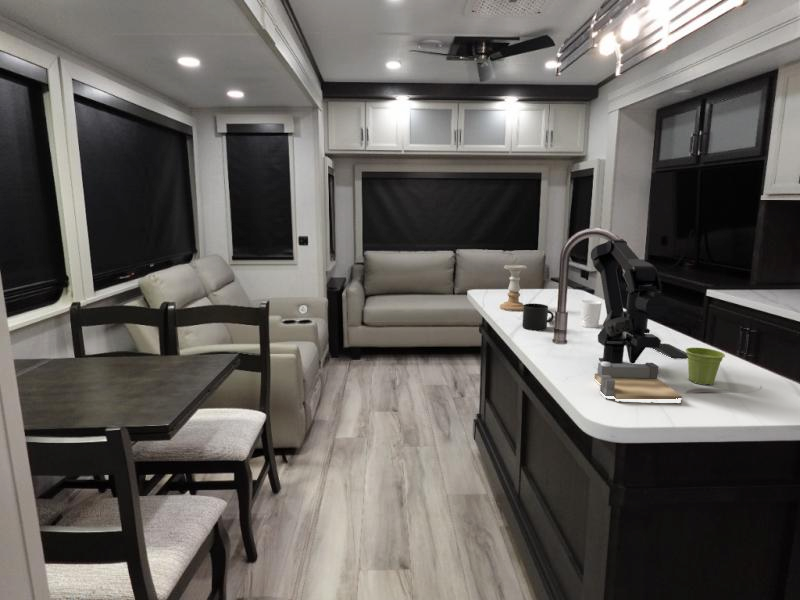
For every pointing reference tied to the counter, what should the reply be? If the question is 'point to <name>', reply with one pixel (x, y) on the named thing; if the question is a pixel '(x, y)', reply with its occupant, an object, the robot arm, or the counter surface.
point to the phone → (671, 351)
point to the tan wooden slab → (635, 388)
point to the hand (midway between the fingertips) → (631, 363)
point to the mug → (536, 316)
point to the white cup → (590, 313)
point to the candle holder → (513, 289)
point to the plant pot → (703, 364)
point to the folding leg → (628, 370)
